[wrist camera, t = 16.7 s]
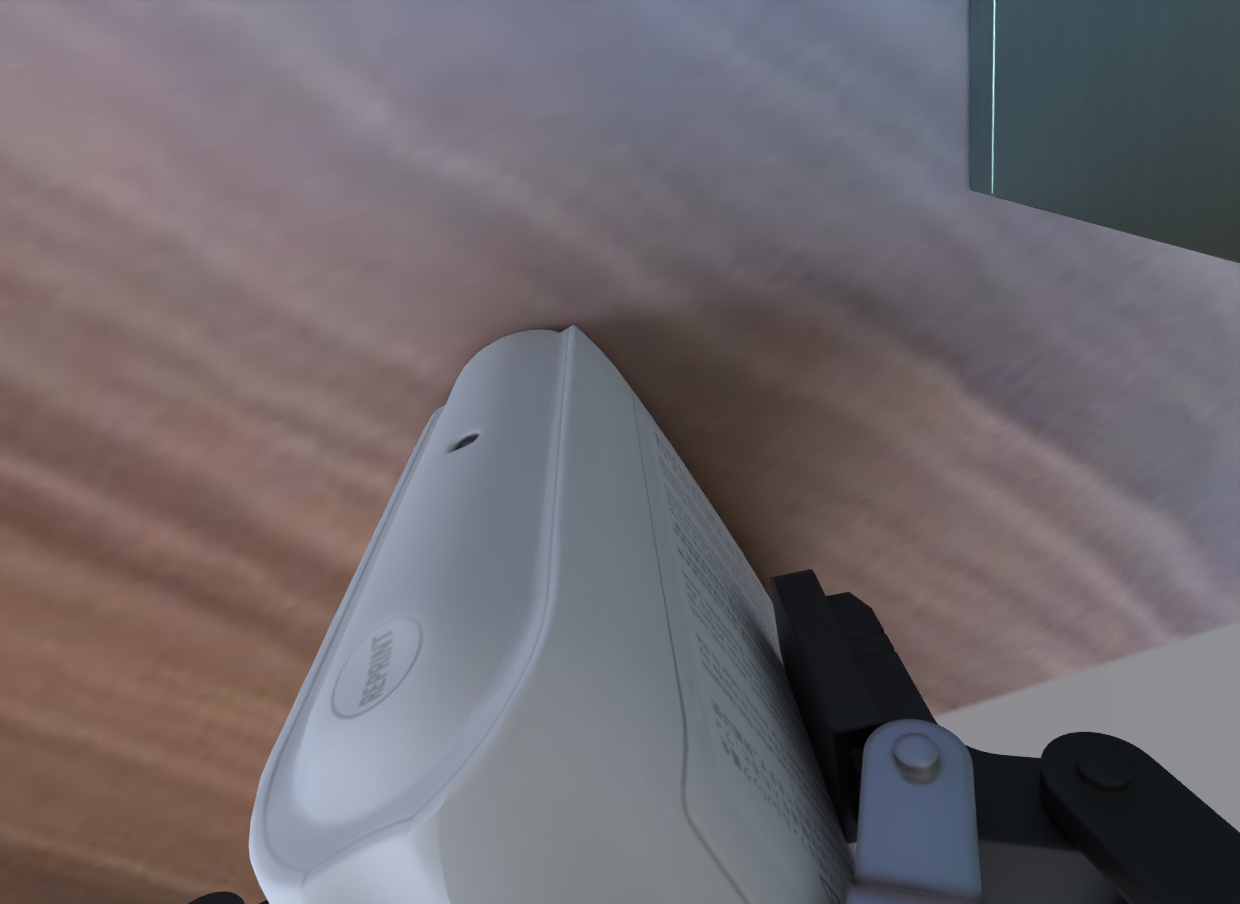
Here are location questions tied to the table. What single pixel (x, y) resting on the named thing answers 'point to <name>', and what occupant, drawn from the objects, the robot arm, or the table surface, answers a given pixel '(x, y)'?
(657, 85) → the table surface
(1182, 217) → the box
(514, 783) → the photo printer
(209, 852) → the table surface
